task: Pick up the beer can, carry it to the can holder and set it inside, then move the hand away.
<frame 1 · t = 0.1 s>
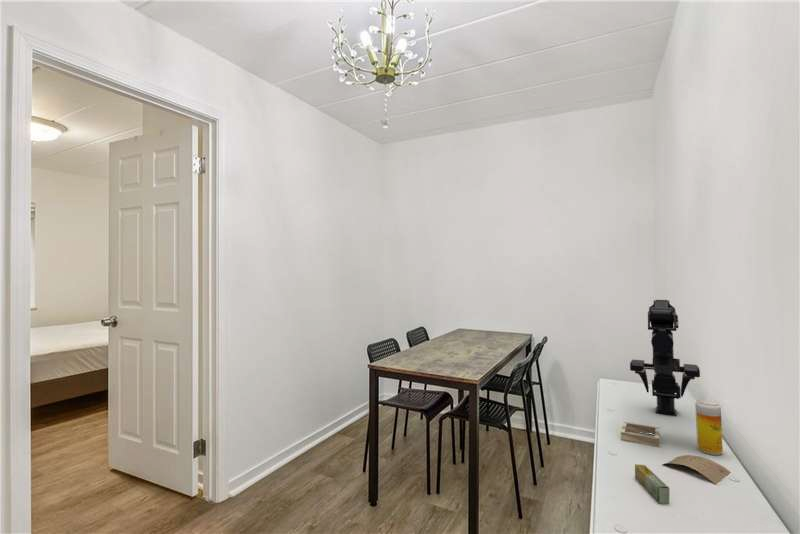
hand: (664, 394, 129), 15 cm above the table, tool pointing down, fingers open, 9 cm apart
medication box: (651, 491, 100), on the table
curved brown cardboard: (696, 472, 109), on the table
beer can: (709, 452, 119), on the table
can holder: (640, 437, 130), on the table
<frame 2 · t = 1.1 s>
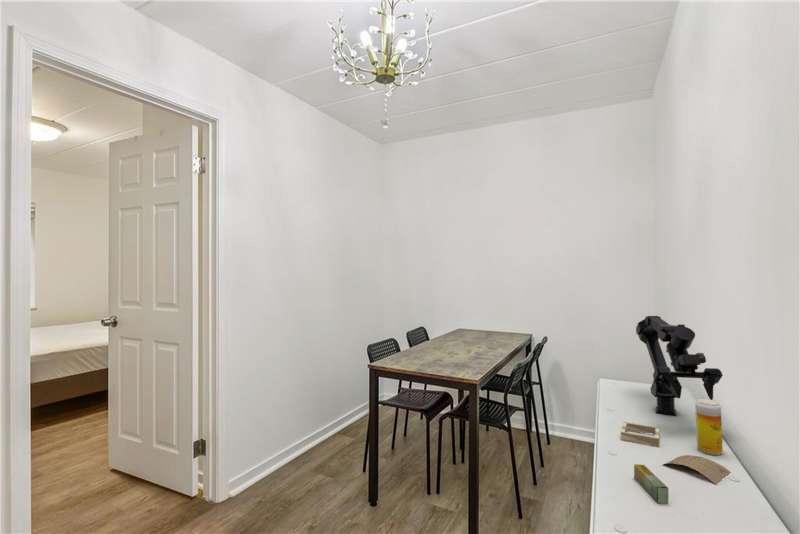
hand: (695, 398, 127), 13 cm above the table, tool tilted 45°, fingers open, 9 cm apart
nothing on the table moved.
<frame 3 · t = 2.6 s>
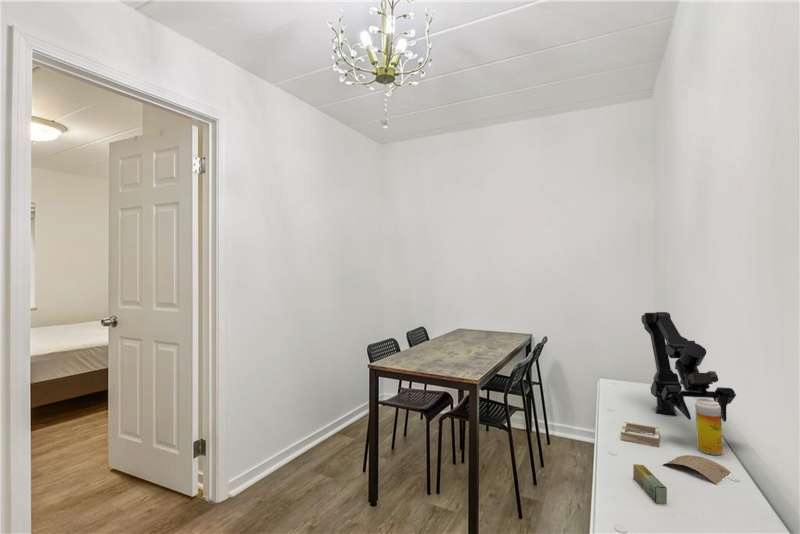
hand: (707, 420, 120), 9 cm above the table, tool tilted 45°, fingers open, 9 cm apart
nothing on the table moved.
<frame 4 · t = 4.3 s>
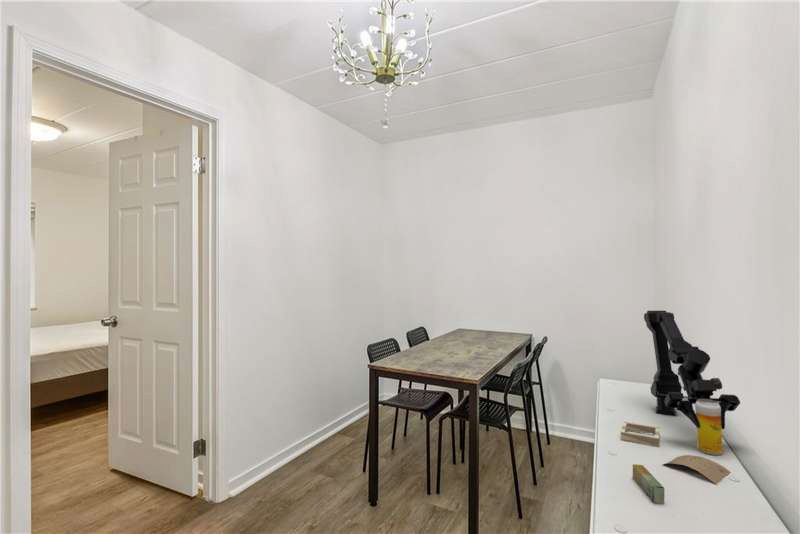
hand: (711, 428, 118), 8 cm above the table, tool tilted 45°, fingers closed on beer can, 6 cm apart
beer can: (709, 451, 119), on the table, touching gripper
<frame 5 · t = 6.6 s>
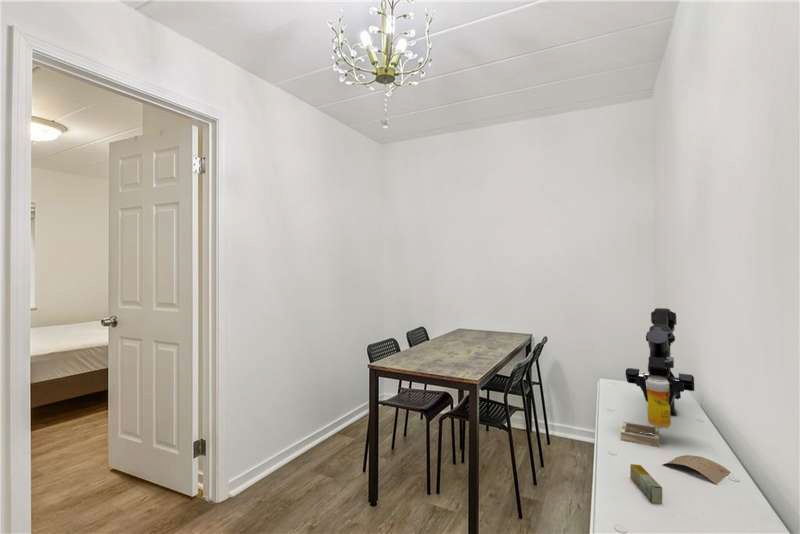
hand: (658, 402, 125), 13 cm above the table, tool tilted 45°, fingers closed on beer can, 6 cm apart
beer can: (659, 425, 126), point 5 cm above the table, touching gripper
when the fingers open (9 cm above the table, at t = 9.1 s): beer can stays where it is, resting in can holder.
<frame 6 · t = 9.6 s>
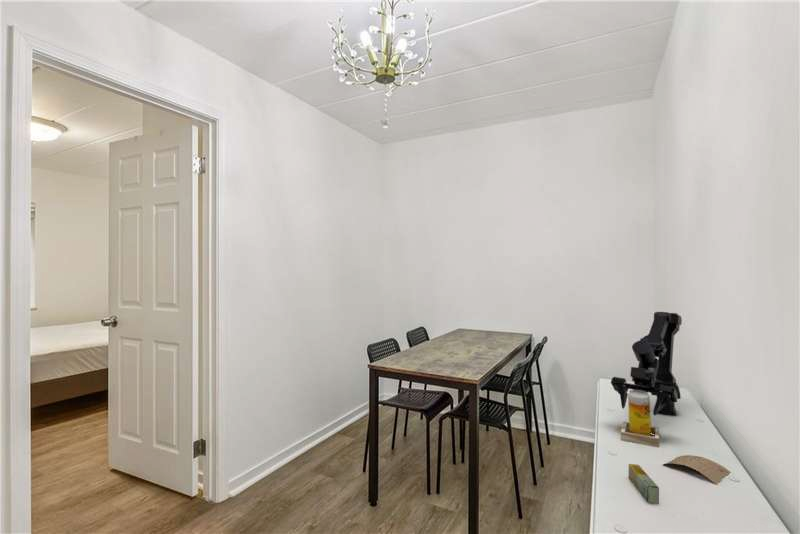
hand: (638, 411, 129), 9 cm above the table, tool tilted 45°, fingers open, 9 cm apart
beer can: (640, 438, 130), resting in can holder
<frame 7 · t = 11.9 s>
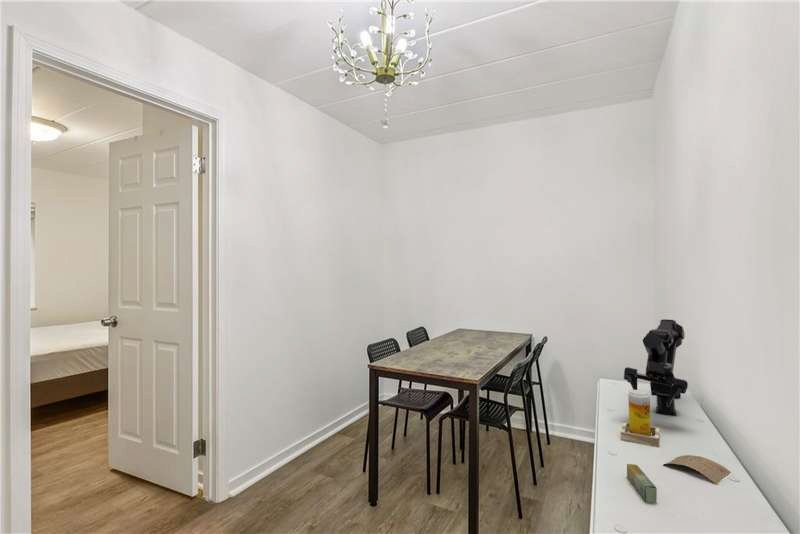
hand: (651, 402, 136), 10 cm above the table, tool tilted 40°, fingers open, 9 cm apart
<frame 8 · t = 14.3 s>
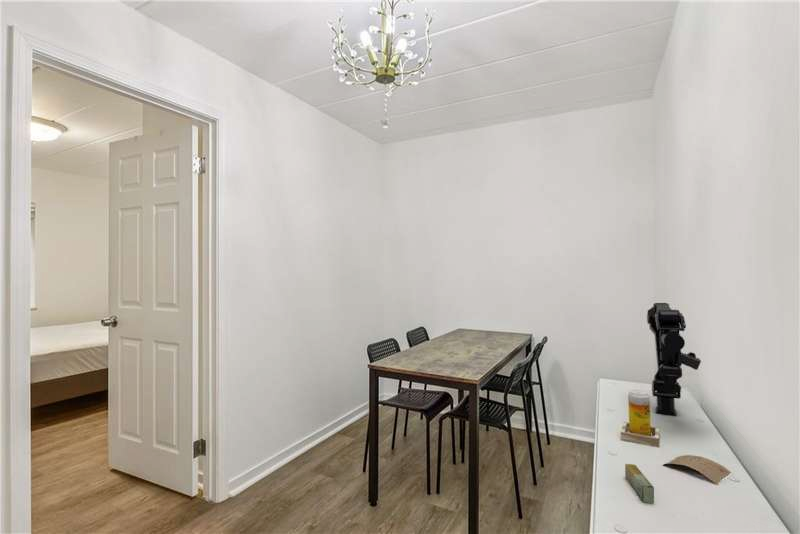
hand: (671, 390, 138), 13 cm above the table, tool pointing down, fingers open, 9 cm apart
at the end: beer can 0.1 cm off-centre on the can holder, point 0.0 cm above the can holder's base; beer can tilted 0°; the gripper is holding nothing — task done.
